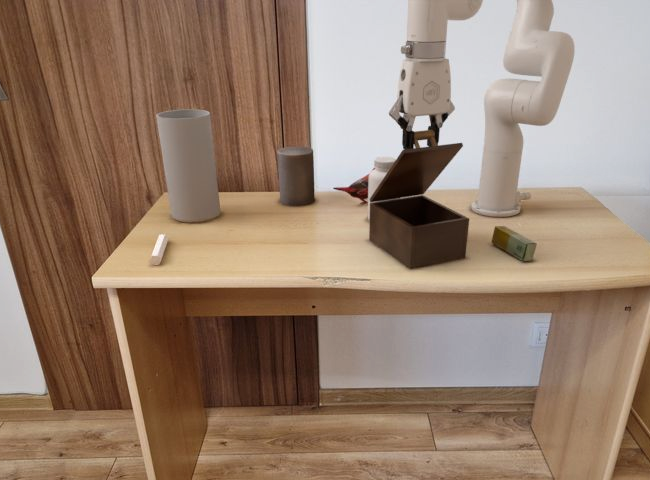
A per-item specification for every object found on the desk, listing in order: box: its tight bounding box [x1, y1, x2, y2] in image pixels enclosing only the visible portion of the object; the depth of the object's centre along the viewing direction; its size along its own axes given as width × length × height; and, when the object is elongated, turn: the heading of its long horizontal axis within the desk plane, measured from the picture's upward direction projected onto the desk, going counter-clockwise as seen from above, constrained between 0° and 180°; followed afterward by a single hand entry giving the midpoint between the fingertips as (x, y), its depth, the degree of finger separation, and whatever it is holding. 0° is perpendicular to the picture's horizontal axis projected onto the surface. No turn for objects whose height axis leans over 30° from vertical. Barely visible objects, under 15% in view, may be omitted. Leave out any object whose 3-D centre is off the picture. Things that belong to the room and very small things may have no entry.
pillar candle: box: [276, 145, 316, 207], centre depth 167 cm, size 10×10×15 cm
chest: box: [368, 194, 470, 270], centre depth 137 cm, size 19×14×9 cm
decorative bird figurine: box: [332, 167, 375, 206], centre depth 164 cm, size 3×18×10 cm, turn 124°
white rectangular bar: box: [149, 233, 169, 266], centre depth 139 cm, size 3×2×16 cm
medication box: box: [490, 225, 538, 263], centre depth 135 cm, size 12×3×4 cm, turn 23°
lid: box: [370, 129, 464, 202], centre depth 133 cm, size 20×14×6 cm
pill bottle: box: [367, 156, 399, 222], centre depth 153 cm, size 8×8×15 cm
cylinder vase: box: [155, 109, 221, 224], centre depth 154 cm, size 12×12×25 cm
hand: (420, 147), depth 128 cm, fingers closed on lid, 5 cm apart
